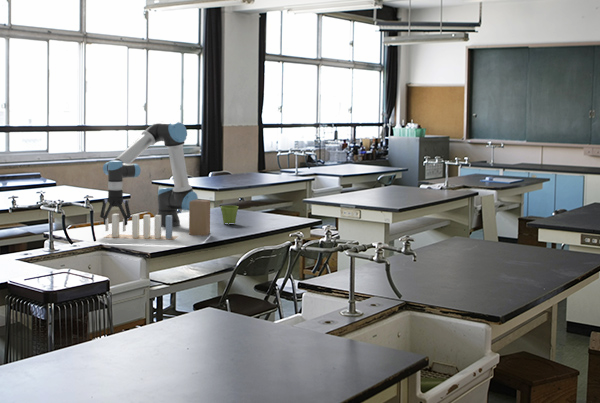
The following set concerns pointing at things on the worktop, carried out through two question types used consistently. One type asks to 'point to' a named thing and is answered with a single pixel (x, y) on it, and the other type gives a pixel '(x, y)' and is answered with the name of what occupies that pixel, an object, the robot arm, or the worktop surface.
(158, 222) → the tile
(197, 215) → the wooden block
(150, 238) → the oak board
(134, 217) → the tile
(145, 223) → the tile
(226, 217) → the plant pot
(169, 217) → the tile
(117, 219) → the tile
